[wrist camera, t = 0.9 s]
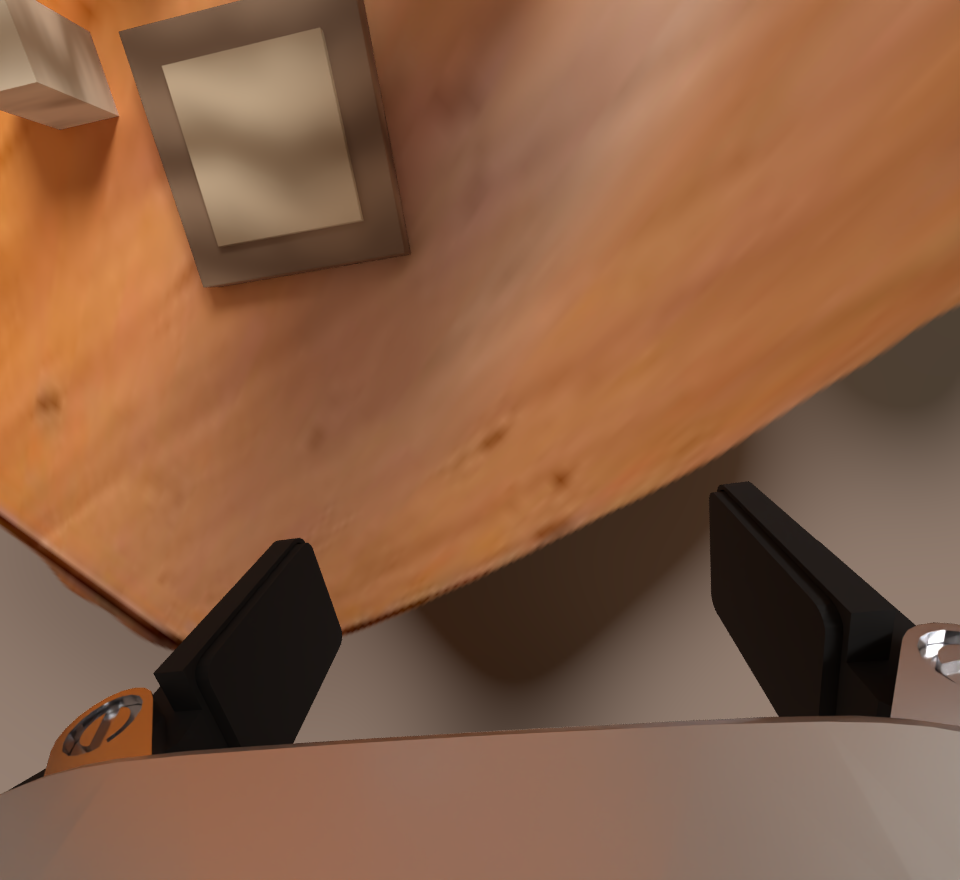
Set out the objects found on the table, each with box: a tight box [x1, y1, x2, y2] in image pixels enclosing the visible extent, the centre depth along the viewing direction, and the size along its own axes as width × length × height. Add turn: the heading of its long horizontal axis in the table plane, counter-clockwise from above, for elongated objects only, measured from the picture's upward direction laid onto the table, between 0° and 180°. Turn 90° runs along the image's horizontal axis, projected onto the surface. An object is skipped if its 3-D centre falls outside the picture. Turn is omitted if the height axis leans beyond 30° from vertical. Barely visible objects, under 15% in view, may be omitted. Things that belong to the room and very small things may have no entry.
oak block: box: [0, 0, 119, 130], centre depth 29 cm, size 5×5×6 cm
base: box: [119, 0, 411, 287], centre depth 32 cm, size 16×16×2 cm
